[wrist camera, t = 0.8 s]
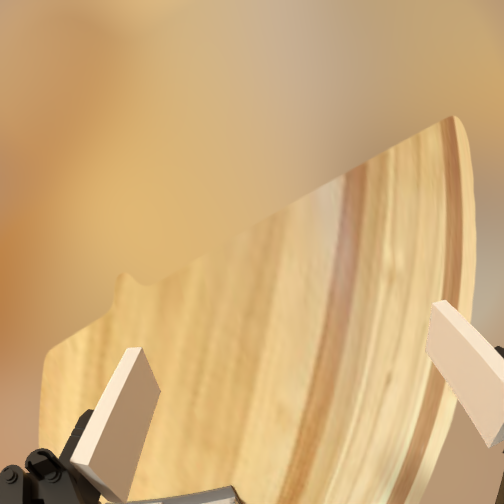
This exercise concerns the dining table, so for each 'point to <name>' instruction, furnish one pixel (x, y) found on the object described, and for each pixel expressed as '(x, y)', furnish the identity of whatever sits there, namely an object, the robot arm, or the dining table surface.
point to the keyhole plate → (197, 498)
